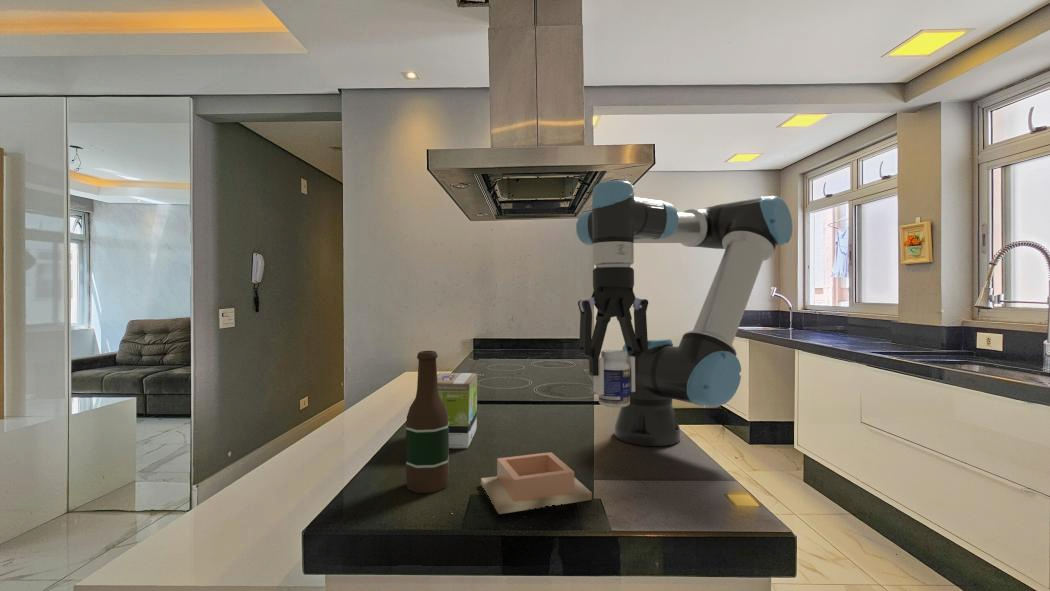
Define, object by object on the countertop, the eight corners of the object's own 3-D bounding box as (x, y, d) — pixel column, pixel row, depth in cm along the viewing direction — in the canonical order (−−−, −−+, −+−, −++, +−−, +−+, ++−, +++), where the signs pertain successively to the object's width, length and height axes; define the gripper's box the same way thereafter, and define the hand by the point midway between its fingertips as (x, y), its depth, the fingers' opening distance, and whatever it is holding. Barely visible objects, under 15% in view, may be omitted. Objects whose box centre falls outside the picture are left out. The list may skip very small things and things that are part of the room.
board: (563, 473, 90) (563, 467, 90) (591, 499, 79) (591, 492, 79) (481, 484, 85) (481, 478, 85) (498, 514, 74) (498, 506, 74)
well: (551, 470, 89) (551, 452, 89) (574, 492, 79) (574, 471, 79) (497, 477, 85) (497, 458, 85) (514, 501, 76) (514, 479, 76)
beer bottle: (411, 497, 80) (411, 355, 80) (401, 481, 87) (400, 350, 87) (456, 488, 84) (455, 352, 84) (442, 474, 91) (441, 348, 90)
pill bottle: (630, 408, 85) (629, 353, 85) (598, 407, 86) (597, 352, 86) (630, 401, 90) (629, 349, 90) (599, 400, 92) (599, 348, 92)
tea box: (470, 449, 105) (469, 382, 105) (424, 449, 105) (424, 382, 105) (477, 429, 120) (477, 371, 120) (438, 429, 120) (437, 371, 120)
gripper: (575, 265, 82) (576, 400, 82) (668, 266, 87) (669, 391, 88) (558, 267, 89) (559, 391, 89) (645, 268, 95) (646, 384, 95)
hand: (614, 391), depth 88 cm, fingers closed on pill bottle, 6 cm apart
